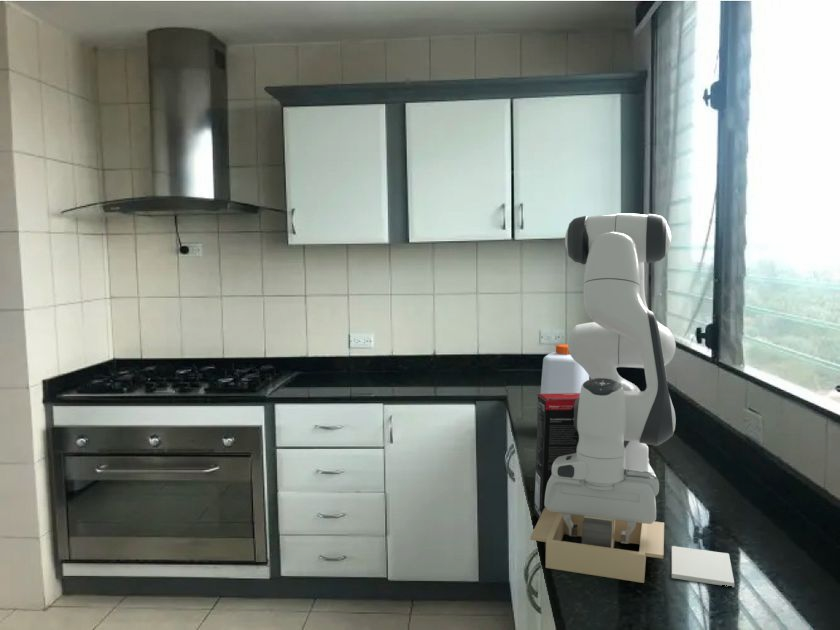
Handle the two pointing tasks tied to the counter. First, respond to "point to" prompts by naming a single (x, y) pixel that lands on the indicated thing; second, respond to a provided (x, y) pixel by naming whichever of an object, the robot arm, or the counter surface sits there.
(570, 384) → the plastic bottle
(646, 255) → the robot arm
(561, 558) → the carton
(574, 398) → the graphics card box
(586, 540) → the block
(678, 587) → the counter surface
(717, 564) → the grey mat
